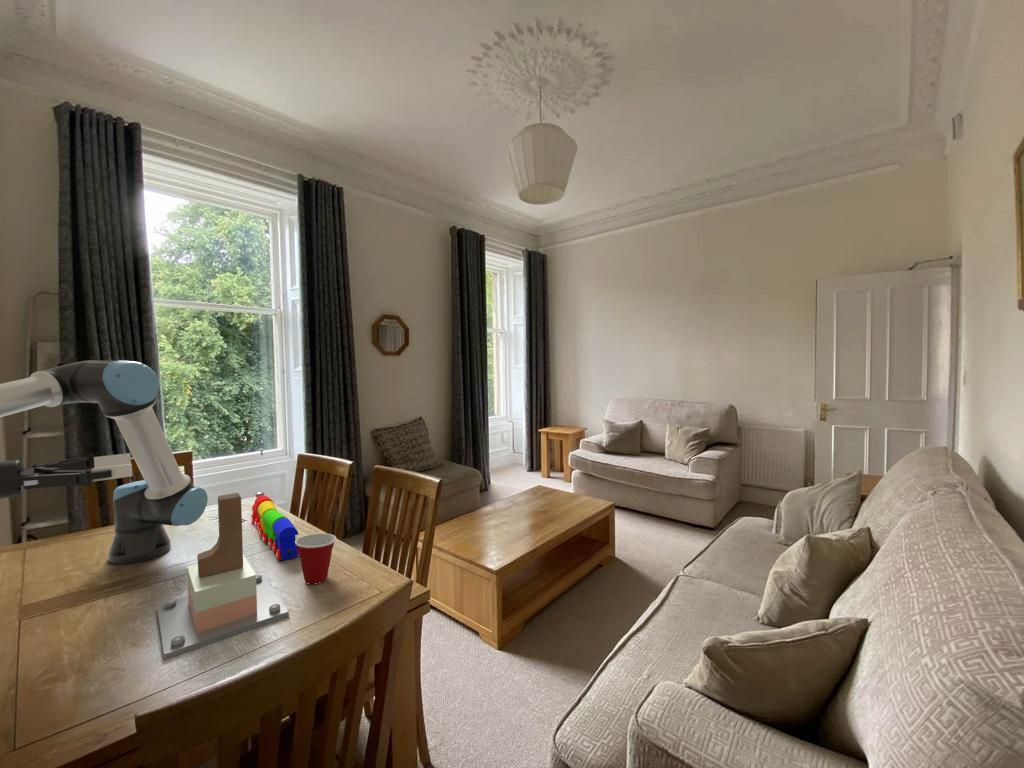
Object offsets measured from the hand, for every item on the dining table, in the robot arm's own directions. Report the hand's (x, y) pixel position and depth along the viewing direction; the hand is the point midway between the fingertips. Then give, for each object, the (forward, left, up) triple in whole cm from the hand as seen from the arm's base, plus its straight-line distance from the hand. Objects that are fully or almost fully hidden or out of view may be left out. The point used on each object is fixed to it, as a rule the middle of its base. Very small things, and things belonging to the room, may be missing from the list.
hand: (131, 464), depth 104 cm
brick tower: (+10, +16, -38) cm, 42 cm away
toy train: (-32, +37, -38) cm, 62 cm away
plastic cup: (+8, +39, -38) cm, 55 cm away
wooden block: (+9, +16, -27) cm, 33 cm away
